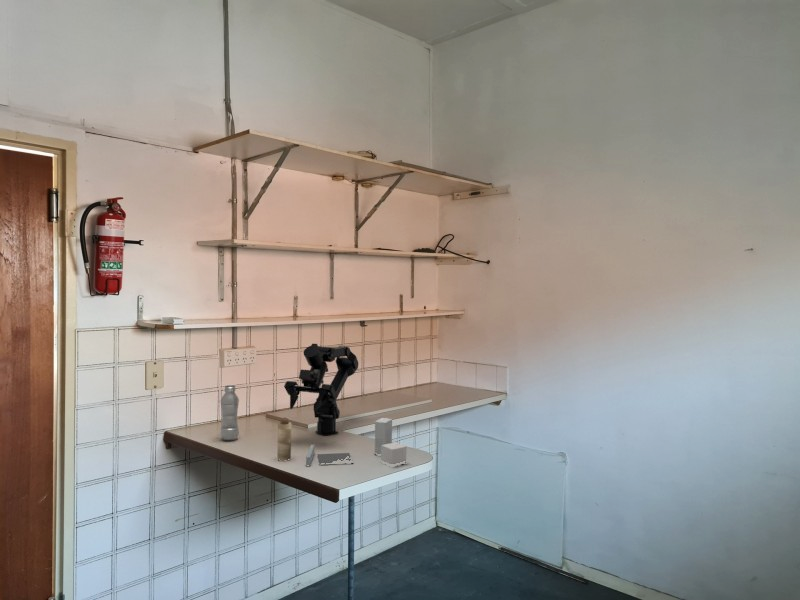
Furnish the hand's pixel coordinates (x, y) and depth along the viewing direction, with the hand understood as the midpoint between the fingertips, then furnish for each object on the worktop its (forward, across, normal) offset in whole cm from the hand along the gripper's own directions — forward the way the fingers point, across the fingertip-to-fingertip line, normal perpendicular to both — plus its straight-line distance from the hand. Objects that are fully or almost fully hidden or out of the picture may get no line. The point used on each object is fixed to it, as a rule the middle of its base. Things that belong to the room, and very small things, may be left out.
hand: (302, 409), depth 208 cm
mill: (+19, 0, +1) cm, 19 cm away
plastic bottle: (+10, -30, +10) cm, 33 cm away
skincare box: (+7, +29, +13) cm, 33 cm away
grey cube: (+13, +36, +7) cm, 39 cm away
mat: (+15, +16, +5) cm, 23 cm away
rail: (+17, +8, +2) cm, 20 cm away
